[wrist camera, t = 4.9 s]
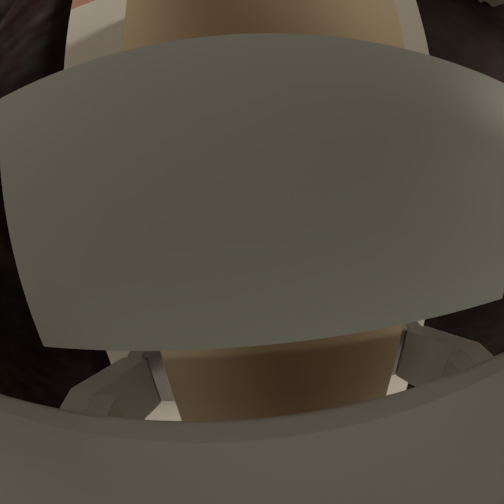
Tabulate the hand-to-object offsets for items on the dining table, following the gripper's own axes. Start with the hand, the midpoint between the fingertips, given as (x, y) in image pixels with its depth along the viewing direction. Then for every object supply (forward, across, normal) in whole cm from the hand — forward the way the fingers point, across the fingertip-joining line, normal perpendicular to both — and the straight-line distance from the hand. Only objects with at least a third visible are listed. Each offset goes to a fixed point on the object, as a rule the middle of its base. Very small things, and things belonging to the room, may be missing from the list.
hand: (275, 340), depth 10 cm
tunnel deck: (+4, 0, -4) cm, 6 cm away
